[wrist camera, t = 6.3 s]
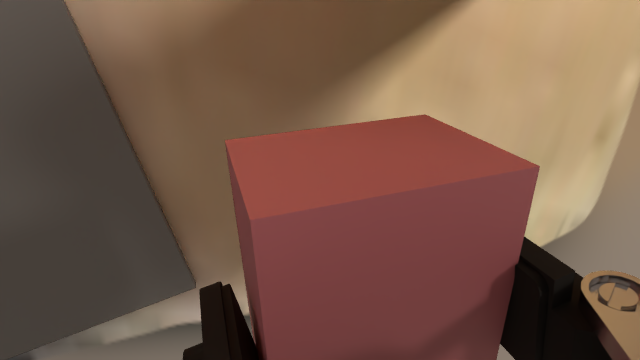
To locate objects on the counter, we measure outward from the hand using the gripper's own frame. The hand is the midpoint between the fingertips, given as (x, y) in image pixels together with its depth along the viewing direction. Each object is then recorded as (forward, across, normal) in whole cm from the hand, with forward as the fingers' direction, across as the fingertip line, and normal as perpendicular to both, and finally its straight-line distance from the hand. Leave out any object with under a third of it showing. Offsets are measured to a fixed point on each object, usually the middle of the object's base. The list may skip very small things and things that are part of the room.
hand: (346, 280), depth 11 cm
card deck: (+1, 0, 0) cm, 1 cm away
